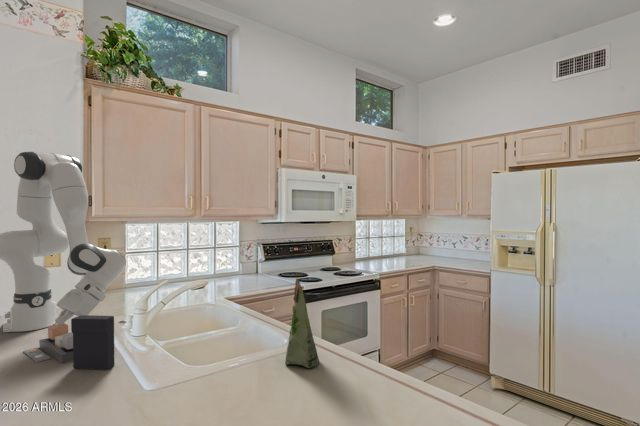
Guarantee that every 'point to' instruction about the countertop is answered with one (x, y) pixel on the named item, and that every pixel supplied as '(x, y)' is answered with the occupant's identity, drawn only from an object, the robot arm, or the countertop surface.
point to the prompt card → (36, 355)
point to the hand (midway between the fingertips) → (57, 323)
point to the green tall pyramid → (301, 334)
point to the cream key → (58, 341)
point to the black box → (93, 342)
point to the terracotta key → (57, 330)
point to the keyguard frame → (56, 350)
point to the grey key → (67, 340)
